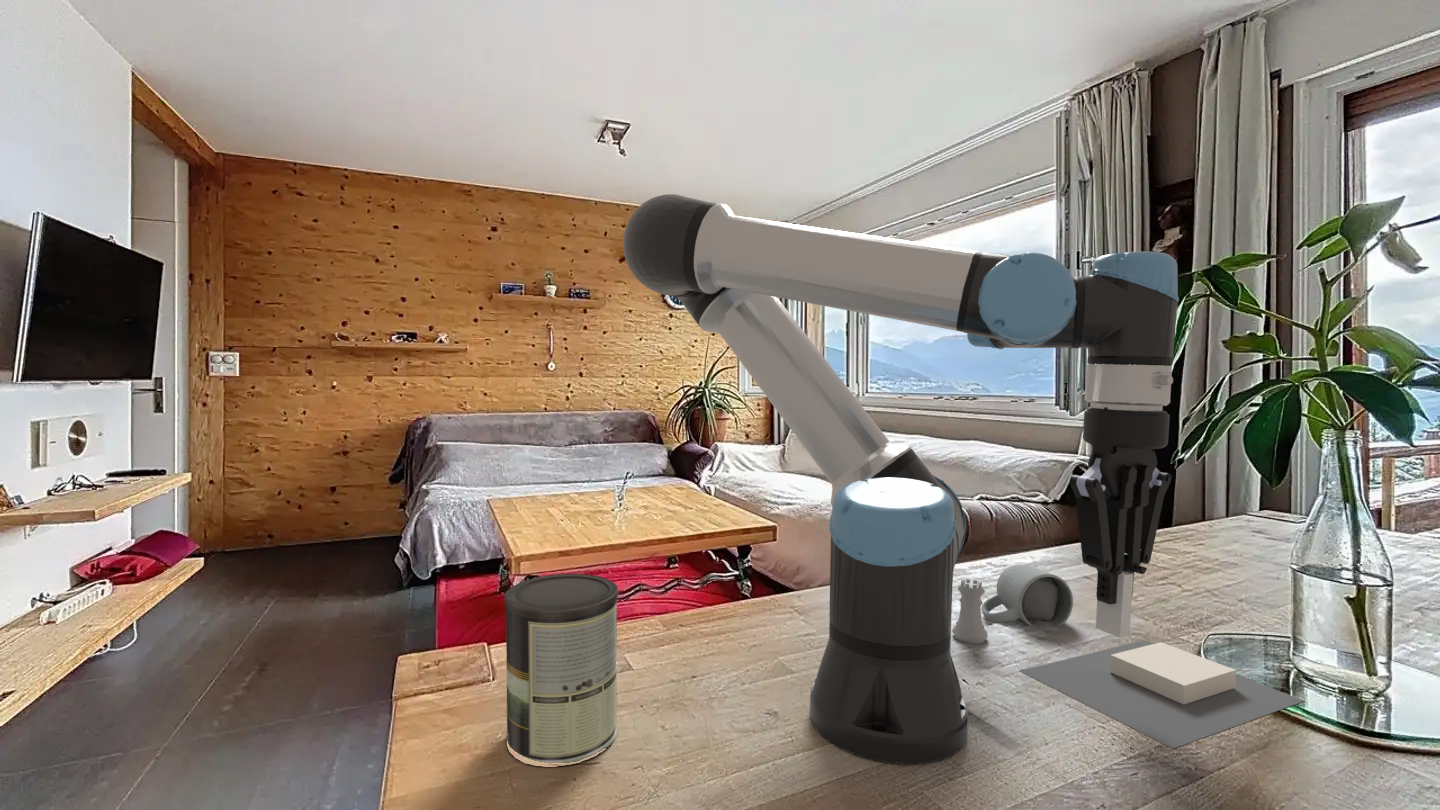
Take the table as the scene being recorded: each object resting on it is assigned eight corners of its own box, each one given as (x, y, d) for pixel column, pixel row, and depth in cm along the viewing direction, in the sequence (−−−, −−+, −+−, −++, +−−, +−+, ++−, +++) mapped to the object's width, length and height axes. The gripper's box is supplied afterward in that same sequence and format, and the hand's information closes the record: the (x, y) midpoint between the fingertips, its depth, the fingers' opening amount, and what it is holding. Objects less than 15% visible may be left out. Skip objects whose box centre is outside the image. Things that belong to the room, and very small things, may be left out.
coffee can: (480, 753, 60) (479, 600, 60) (549, 701, 70) (549, 568, 69) (578, 780, 57) (578, 617, 56) (637, 721, 66) (637, 580, 65)
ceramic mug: (1039, 608, 99) (1040, 557, 98) (1074, 630, 90) (1075, 574, 90) (970, 611, 98) (971, 559, 97) (998, 634, 90) (999, 577, 89)
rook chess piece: (973, 653, 83) (975, 590, 82) (943, 641, 86) (945, 580, 86) (995, 645, 85) (997, 584, 85) (965, 634, 89) (967, 574, 88)
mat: (1172, 757, 61) (1173, 748, 61) (1019, 677, 76) (1019, 670, 76) (1304, 708, 70) (1304, 700, 70) (1143, 646, 86) (1143, 640, 85)
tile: (1184, 685, 69) (1236, 669, 72) (1110, 654, 76) (1161, 642, 80) (1183, 705, 69) (1234, 688, 73) (1109, 673, 76) (1160, 659, 80)
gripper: (1119, 410, 63) (1104, 656, 64) (1203, 409, 68) (1188, 636, 70) (1050, 405, 69) (1037, 627, 71) (1131, 404, 75) (1118, 611, 76)
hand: (1112, 631), depth 70 cm, fingers closed
